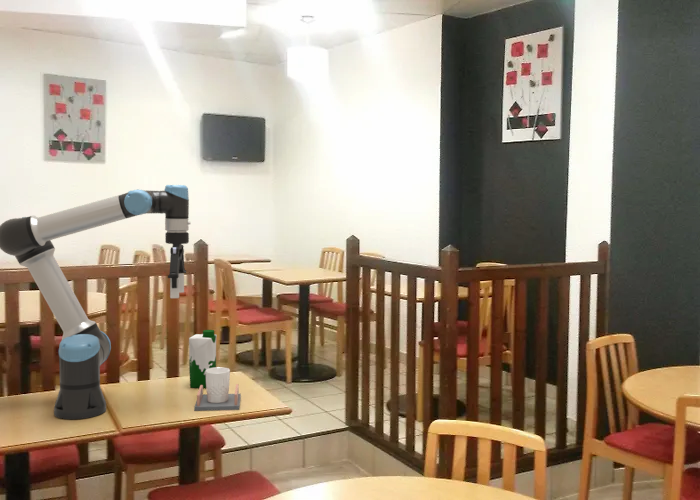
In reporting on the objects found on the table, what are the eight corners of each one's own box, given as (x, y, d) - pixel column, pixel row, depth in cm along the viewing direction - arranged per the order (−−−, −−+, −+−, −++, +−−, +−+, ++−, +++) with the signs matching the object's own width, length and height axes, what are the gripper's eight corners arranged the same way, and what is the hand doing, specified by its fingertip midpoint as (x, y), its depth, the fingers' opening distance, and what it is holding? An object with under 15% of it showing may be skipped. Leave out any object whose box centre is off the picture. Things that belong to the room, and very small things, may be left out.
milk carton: (211, 389, 240) (211, 333, 238) (186, 388, 240) (186, 332, 239) (218, 382, 248) (218, 328, 247) (194, 381, 249) (194, 327, 248)
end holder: (194, 410, 215) (194, 396, 215) (198, 397, 229) (198, 384, 229) (239, 409, 217) (239, 395, 217) (240, 397, 231) (240, 383, 230)
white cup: (227, 404, 219) (227, 373, 218) (202, 403, 219) (202, 373, 218) (231, 396, 227) (232, 367, 226) (208, 396, 227) (208, 367, 226)
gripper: (184, 233, 214) (184, 300, 215) (192, 230, 238) (192, 290, 240) (159, 233, 213) (160, 300, 214) (170, 229, 237) (171, 290, 239)
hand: (177, 295), depth 227 cm, fingers open, 13 cm apart
